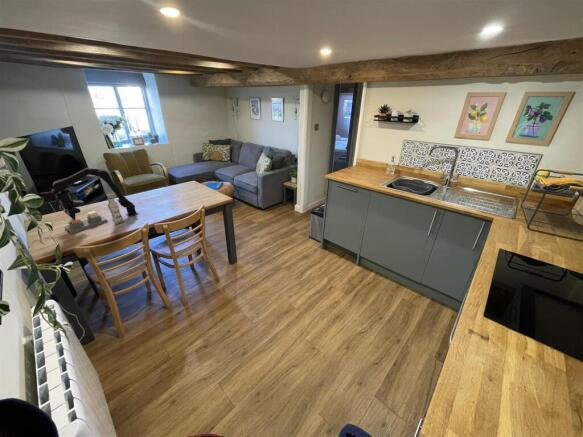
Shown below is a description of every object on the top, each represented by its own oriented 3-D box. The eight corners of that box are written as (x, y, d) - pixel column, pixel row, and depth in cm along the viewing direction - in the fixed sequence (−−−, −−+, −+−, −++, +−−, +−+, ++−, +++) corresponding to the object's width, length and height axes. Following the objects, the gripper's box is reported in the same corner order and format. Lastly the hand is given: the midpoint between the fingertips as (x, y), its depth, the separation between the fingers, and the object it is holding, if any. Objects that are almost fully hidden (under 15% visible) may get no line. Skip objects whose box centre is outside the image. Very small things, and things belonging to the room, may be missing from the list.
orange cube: (81, 223, 169) (79, 219, 168) (73, 225, 166) (71, 221, 164) (78, 221, 171) (76, 217, 170) (71, 224, 168) (69, 219, 166)
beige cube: (98, 216, 177) (96, 212, 175) (91, 218, 174) (89, 214, 172) (95, 214, 179) (94, 210, 177) (88, 216, 176) (87, 212, 174)
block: (107, 221, 180) (105, 215, 177) (72, 233, 163) (69, 227, 161) (100, 217, 185) (98, 211, 183) (65, 228, 169) (62, 222, 167)
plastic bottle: (122, 220, 183) (114, 196, 173) (125, 222, 179) (117, 198, 170) (112, 222, 178) (103, 198, 169) (115, 225, 174) (106, 201, 165)
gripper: (85, 198, 162) (93, 218, 169) (74, 192, 170) (82, 212, 178) (64, 203, 153) (74, 224, 160) (54, 197, 162) (64, 217, 169)
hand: (74, 219), depth 167 cm, fingers closed, pressing on orange cube
